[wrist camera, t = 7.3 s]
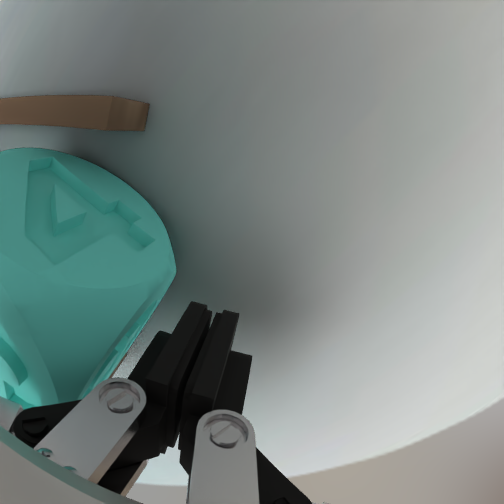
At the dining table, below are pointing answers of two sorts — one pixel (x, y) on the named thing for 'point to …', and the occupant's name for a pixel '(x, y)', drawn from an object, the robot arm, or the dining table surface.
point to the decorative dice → (72, 274)
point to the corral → (76, 115)
